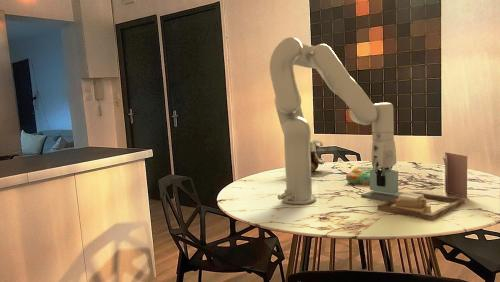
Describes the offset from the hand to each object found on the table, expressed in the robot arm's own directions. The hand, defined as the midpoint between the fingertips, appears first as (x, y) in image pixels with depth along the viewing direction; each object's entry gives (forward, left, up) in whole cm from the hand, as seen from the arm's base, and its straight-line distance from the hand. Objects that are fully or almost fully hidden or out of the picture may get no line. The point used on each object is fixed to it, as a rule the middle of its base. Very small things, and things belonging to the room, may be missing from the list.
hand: (383, 184), depth 154 cm
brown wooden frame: (-5, -17, -4) cm, 18 cm away
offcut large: (-12, -17, -5) cm, 21 cm away
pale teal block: (0, 0, -2) cm, 2 cm away
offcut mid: (-12, -17, -3) cm, 21 cm away
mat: (0, 0, -4) cm, 4 cm away
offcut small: (-12, -17, -1) cm, 21 cm away
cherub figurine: (+17, +50, -5) cm, 53 cm away
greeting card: (+16, -19, -5) cm, 25 cm away
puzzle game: (+20, +22, -5) cm, 30 cm away
